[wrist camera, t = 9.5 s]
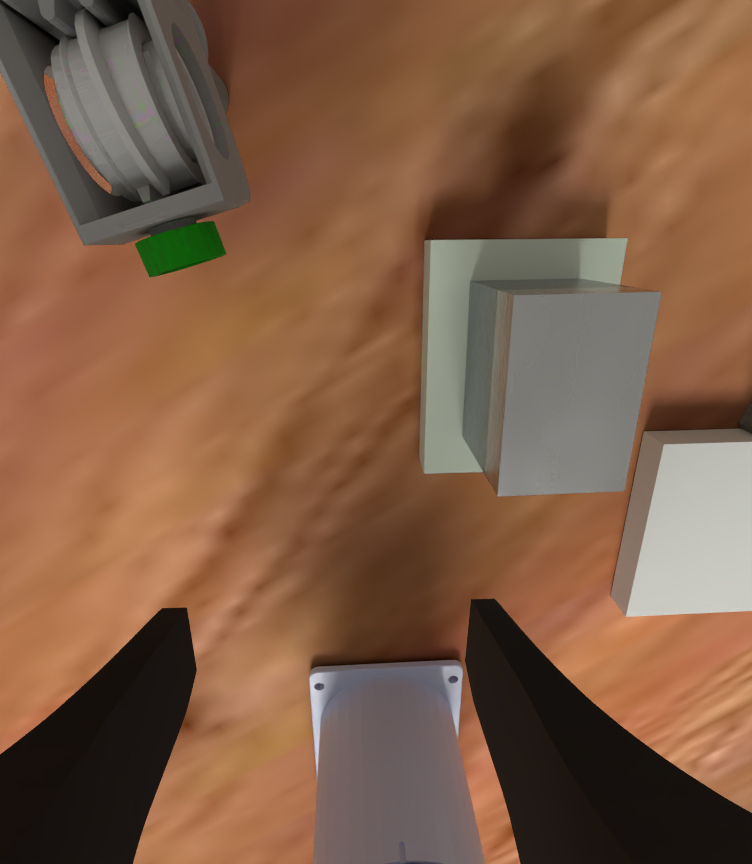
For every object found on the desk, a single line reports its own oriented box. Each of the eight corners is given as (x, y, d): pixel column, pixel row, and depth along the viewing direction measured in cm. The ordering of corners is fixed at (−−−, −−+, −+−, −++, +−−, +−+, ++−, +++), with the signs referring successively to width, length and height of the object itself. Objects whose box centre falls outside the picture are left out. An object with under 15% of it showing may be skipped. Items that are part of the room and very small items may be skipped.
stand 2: (742, 589, 25) (765, 610, 24) (610, 595, 25) (625, 616, 24) (794, 426, 22) (825, 439, 21) (643, 431, 22) (663, 444, 20)
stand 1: (574, 454, 22) (589, 468, 21) (419, 458, 22) (423, 473, 20) (606, 238, 19) (627, 238, 17) (424, 240, 18) (430, 240, 17)
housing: (559, 432, 20) (624, 491, 15) (462, 436, 20) (497, 496, 15) (579, 278, 18) (661, 291, 13) (469, 280, 18) (513, 295, 13)
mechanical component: (182, -115, 15) (-112, -750, 5) (298, 242, 18) (248, 243, 9) (88, -81, 15) (-359, -639, 5) (223, 266, 18) (97, 291, 9)
